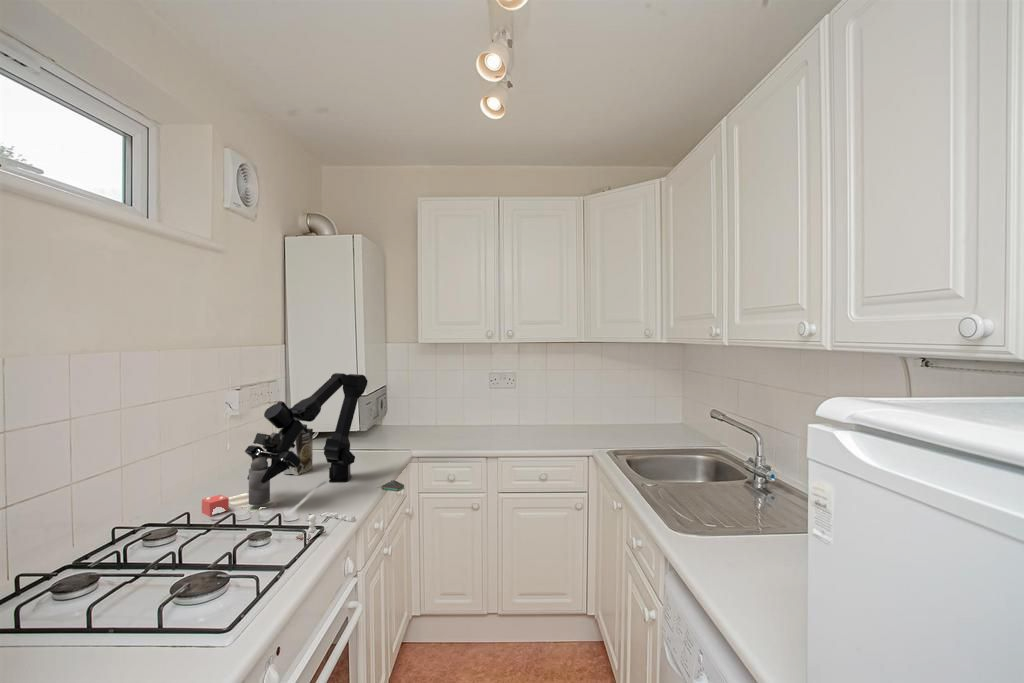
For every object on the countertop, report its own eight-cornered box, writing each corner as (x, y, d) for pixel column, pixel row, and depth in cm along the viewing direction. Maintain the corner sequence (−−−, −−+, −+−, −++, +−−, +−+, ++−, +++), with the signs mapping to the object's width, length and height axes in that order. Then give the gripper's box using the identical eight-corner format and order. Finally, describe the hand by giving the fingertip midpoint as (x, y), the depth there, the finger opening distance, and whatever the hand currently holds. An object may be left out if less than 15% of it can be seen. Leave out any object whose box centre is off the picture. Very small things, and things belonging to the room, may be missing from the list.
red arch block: (201, 516, 134) (201, 497, 133) (220, 511, 138) (220, 492, 138) (209, 520, 131) (209, 501, 131) (228, 515, 135) (228, 496, 135)
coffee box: (298, 476, 173) (298, 433, 172) (283, 474, 174) (283, 432, 174) (313, 469, 182) (313, 428, 181) (298, 468, 183) (299, 427, 183)
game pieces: (314, 545, 118) (314, 522, 118) (276, 536, 122) (276, 515, 122) (411, 490, 160) (412, 473, 160) (380, 485, 164) (380, 469, 164)
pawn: (270, 497, 142) (270, 454, 142) (269, 503, 137) (269, 459, 137) (249, 499, 140) (249, 456, 140) (247, 506, 135) (247, 461, 135)
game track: (213, 504, 143) (213, 500, 143) (250, 494, 152) (250, 490, 152) (246, 519, 132) (246, 515, 132) (283, 507, 141) (284, 503, 141)
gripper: (250, 419, 146) (215, 463, 136) (293, 424, 138) (259, 471, 128) (272, 439, 153) (240, 482, 143) (313, 445, 146) (283, 490, 136)
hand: (255, 481), depth 137 cm, fingers closed on pawn, 5 cm apart
